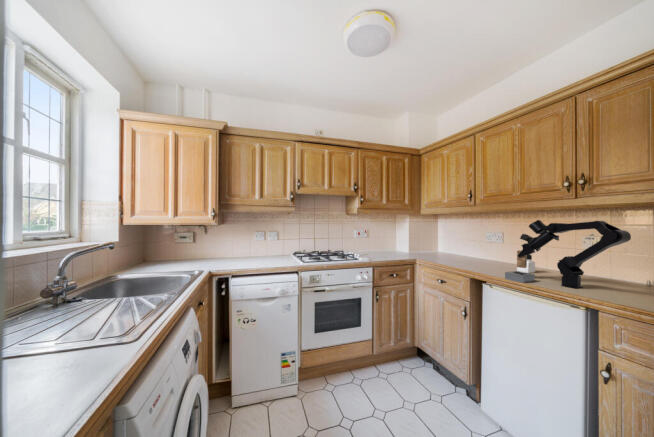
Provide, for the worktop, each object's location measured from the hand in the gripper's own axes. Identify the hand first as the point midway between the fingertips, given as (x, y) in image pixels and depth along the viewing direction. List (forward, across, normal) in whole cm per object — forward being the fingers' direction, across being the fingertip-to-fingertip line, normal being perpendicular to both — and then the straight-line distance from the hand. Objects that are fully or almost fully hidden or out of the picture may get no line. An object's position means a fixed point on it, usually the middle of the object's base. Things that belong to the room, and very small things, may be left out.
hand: (519, 256), depth 155 cm
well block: (+7, +10, +11) cm, 16 cm away
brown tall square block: (+4, 0, +6) cm, 7 cm away
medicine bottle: (+10, -22, +8) cm, 25 cm away
